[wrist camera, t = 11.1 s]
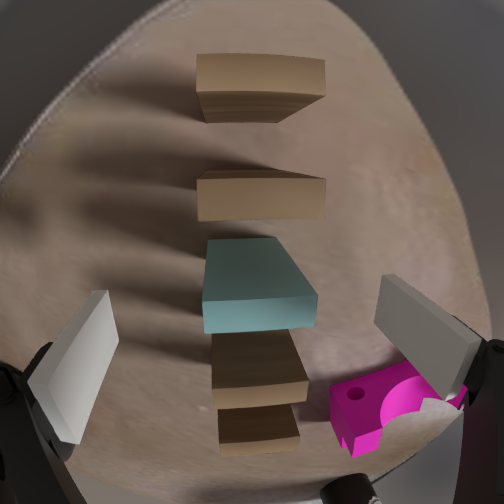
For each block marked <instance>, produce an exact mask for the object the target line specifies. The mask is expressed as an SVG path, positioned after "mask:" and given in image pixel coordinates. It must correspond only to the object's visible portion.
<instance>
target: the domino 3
mask: <svg viewBox="0 0 504 504" xmlns="http://www.w3.org/2000/svg"><path fill="white" fill-rule="evenodd" d="M317 301H318V294H317V293H316V292H315V290H314V289H313V287H312V286H311V285H310V283H309V282H308V280H307V279H306V278H305V276H304V275H303V274H302V272H301V271H300V269H299V268H298V267H297V265H296V264H295V262H294V261H293V260H292V258H291V257H290V256H289V254H288V253H287V252H286V250H285V249H284V247H283V246H282V245H281V243H280V242H279V241H278V239H277V238H276V237H273V238H241V239H213V240H208V246H207V255H206V265H205V275H204V285H203V295H202V309H203V320H204V331H205V334H209V333H233V332H251V331H266V330H279V329H291V328H302V327H312V326H315V321H316V311H317Z"/></svg>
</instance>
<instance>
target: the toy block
mask: <svg viewBox="0 0 504 504" xmlns="http://www.w3.org/2000/svg"><path fill="white" fill-rule="evenodd" d="M466 390H467V387H466V386H465V385H464V384H463V385H462V387H461V390H460V392H459V394H458V396H456V397H454V398H452V399H449V400H447V401H446V402H448V403H450V404H452V405H453V406H455V407H456V408H457V409H458V406H459V404H460V402H461V400H462V398H463V396H464V394H465V392H466ZM423 398H436V399H440V400H443V399H442V398H441V397H440V396H439V395H438V394H437V392H436V391H435V390H434V389H433V388H432V387H431V385H430V384H429V383H428V382H427V381H426V380H425V379H424V378H423V376H422V375H421V374H420V373H419V372H418V371H417V370H416V368H415V367H414V366H413V365H412V364H411V363H410V362H409V361H408V360H407V361H404V362H401V363H399V364H396V365H393V366H391V367H388V368H385V369H383V370H380V371H377V372H374V373H371V374H368V375H365V376H362V377H359V378H356V379H353V380H350V381H346V382H343V383H340V384H336V385H333V386H330V422H331V424H332V427H333V429H334V432H335V434H336V436H337V439H338V441H339V443H340V446H341V448H344V447H348V450H349V452H350V454H351V457H352V458H353V457H356V456H359V455H362V454H364V453H367V452H370V451H373V450H375V449H378V445H379V441H380V437H381V433H382V429H383V426H384V425H385V424H386V423H387V422H389V421H390V420H392V419H393V418H395V417H397V416H399V415H402V414H405V413H409V412H414V411H419V410H420V407H421V404H422V401H423ZM462 407H464V405H462V406H461V408H462ZM461 408H460V409H461Z"/></svg>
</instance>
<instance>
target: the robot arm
mask: <svg viewBox="0 0 504 504" xmlns="http://www.w3.org/2000/svg"><path fill="white" fill-rule="evenodd" d="M374 324H375V325H376V326H377V327H378V328H379V329H380V330H381V331H382V332H383V333H384V334H385V335H386V336H387V338H388V339H389V340H390V341H391V342H392V343H393V344H394V345H395V346H396V347H397V348H398V350H399V351H400V352H401V353H402V354H403V355H404V356H405V357H406V358H407V360H408V361H409V362H410V363H411V364H412V365H413V366H414V367H415V368H416V370H417V371H418V372H419V373H420V374H421V375H422V376H423V378H424V379H425V380H426V381H427V382H428V383H429V384H430V385H431V387H432V388H433V389H434V390H435V391H436V392H437V394H438V395H439V396H440V397H441V398H442V399H443V401H444V402H445V401H447V400H449V399H452V398H454V397H456V396H458V394H459V392H460V390H461V387H462V385H463V384H464V385H465V386H466V387H467V390H466V392H465V394H464V396H463V398H462V400H461V402H460V404H459V406H458V409H457V410H460V408H461V406H462V405H464V409H463V411H464V424H463V438H462V448H461V457H460V466H459V473H458V479H457V485H456V490H455V495H454V500H453V504H504V341H502V340H498V339H492V340H489V341H488V342H487V341H486V340H485V339H484V338H482V337H481V336H480V335H479V334H477V333H476V332H475V331H473V330H472V329H471V328H468V326H467V325H466V324H464V323H462V321H460V320H459V319H458V318H456V317H455V316H453V315H451V314H449V313H448V312H447V311H445V310H444V309H442V308H441V307H440V306H438V305H437V304H436V303H434V302H433V301H432V300H430V299H429V298H428V297H426V296H425V295H423V294H422V293H421V292H419V291H418V290H416V289H415V288H414V287H412V286H411V285H409V284H408V283H407V282H405V281H404V280H402V279H401V278H399V277H398V276H397V275H395V274H387V275H382V279H381V285H380V291H379V297H378V303H377V309H376V314H375V319H374ZM118 342H119V338H118V334H117V330H116V326H115V321H114V317H113V312H112V308H111V303H110V298H109V293H108V290H93V291H92V292H91V294H90V295H89V296H88V297H87V299H86V300H85V301H84V303H83V304H82V305H81V306H80V308H79V309H78V310H77V312H76V313H75V314H74V315H73V317H72V318H71V319H70V321H69V322H68V323H67V325H66V326H65V327H64V329H63V330H62V332H61V333H60V334H59V336H58V337H57V338H56V340H55V341H54V342H48V343H47V344H46V345H44V346H43V347H42V348H40V349H39V351H38V352H37V353H36V355H35V356H34V358H33V359H32V360H31V362H30V365H28V366H27V368H26V369H25V370H24V372H23V373H22V375H21V376H19V375H17V374H15V373H13V371H12V369H11V367H10V366H8V365H6V364H0V504H87V502H86V501H85V499H84V498H83V496H82V495H81V493H80V491H79V489H78V488H77V486H76V484H75V483H74V481H73V479H72V477H71V475H70V474H69V472H68V470H67V468H66V466H65V464H64V462H65V461H67V460H68V459H69V458H70V456H71V455H72V452H73V450H74V447H75V444H79V445H80V441H81V438H82V436H83V433H84V430H85V427H86V424H87V421H88V418H89V415H90V413H91V410H92V407H93V405H94V402H95V399H96V397H97V394H98V391H99V389H100V386H101V384H102V381H103V379H104V376H105V374H106V371H107V369H108V366H109V364H110V361H111V359H112V357H113V354H114V352H115V349H116V347H117V345H118Z"/></svg>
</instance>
